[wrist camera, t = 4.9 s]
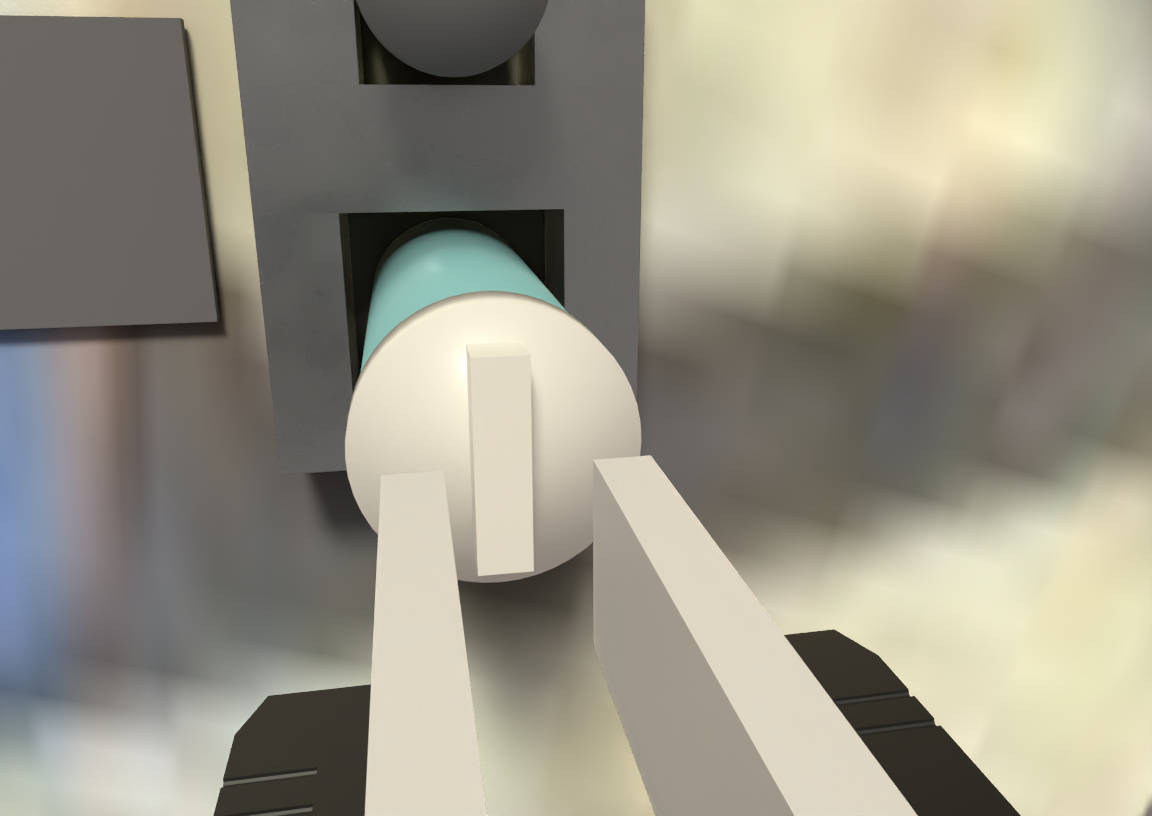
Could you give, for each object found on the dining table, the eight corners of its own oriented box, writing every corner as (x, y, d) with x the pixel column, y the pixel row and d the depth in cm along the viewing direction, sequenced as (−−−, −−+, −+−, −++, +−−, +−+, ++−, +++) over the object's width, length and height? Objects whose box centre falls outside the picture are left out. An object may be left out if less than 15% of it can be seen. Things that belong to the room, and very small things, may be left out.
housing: (609, 413, 33) (636, 451, 30) (294, 431, 31) (280, 474, 28) (615, -115, 28) (648, -150, 24) (239, -131, 26) (212, -172, 22)
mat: (-88, 330, 28) (-94, 333, 28) (-159, 14, 26) (-166, 12, 25) (219, 319, 30) (217, 321, 29) (183, 19, 27) (180, 18, 27)
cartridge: (374, 376, 31) (353, 622, 16) (363, 216, 30) (328, 321, 14) (531, 369, 32) (651, 595, 17) (529, 213, 31) (659, 308, 15)
